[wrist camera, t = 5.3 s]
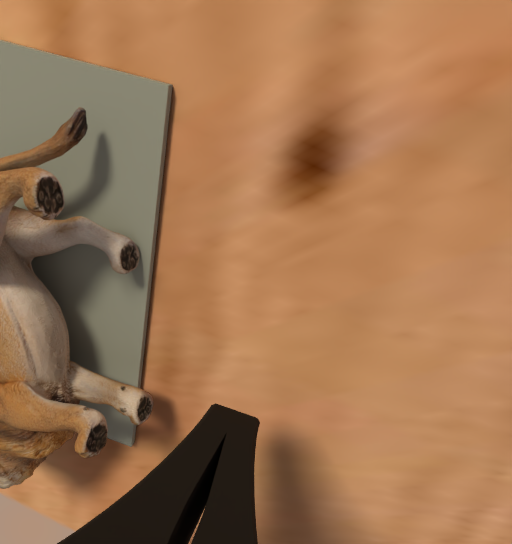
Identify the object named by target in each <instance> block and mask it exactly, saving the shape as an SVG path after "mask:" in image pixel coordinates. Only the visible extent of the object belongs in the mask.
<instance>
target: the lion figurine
mask: <svg viewBox="0 0 512 544" xmlns="http://www.w3.org/2000/svg"><path fill="white" fill-rule="evenodd" d="M87 129H88V125H87V118H86V110H85V109H84V108H82V107H79V108H77V109H76V111H75V112H74V114H73V115H72V117H71V118H70V119H69V120H68V121H67V122H65V123H64V124H63V125H61V126H60V128H59V129H58V131H57V132H56V134H55V135H54V136H53V137H52V138H50V139H48V140H47V141H45V142H43V143H42V144H40V145H38V146H37V147H35V148H33V149H30V150H28V151H24V152H21V153H18V154H14V155H10V156H6V157H2V158H0V488H2V489H6V488H9V487H11V486H13V485H18V484H21V483H22V482H23V481H24V480H25V479H27V478H29V477H30V476H32V475H33V472H34V470H35V469H36V468H37V467H38V466H39V464H40V463H42V462H43V461H44V460H45V459H46V457H47V456H48V455H49V454H51V453H52V452H53V451H54V450H56V449H59V448H60V447H61V446H62V445H63V444H64V443H65V441H67V440H69V439H71V438H72V437H73V435H74V432H76V433H77V434H78V437H77V440H76V442H75V451H76V452H77V453H78V454H80V456H81V457H83V458H88V457H91V456H96V455H98V454H99V453H100V451H101V449H102V448H103V447H104V446H105V444H106V440H107V432H108V428H107V422H106V419H105V417H104V415H103V414H102V413H100V412H99V411H97V410H95V409H91V408H87V407H86V406H82V405H78V404H79V403H80V401H86V402H89V403H97V404H107V405H110V406H112V407H114V408H115V409H116V410H117V411H119V412H120V413H121V414H123V415H125V416H128V417H129V418H130V421H131V422H132V423H133V424H134V425H139V424H141V423H143V422H145V421H146V420H147V419H148V417H149V415H150V413H151V411H152V407H153V398H152V396H151V394H149V393H148V392H146V391H144V390H142V389H140V388H137V387H134V386H131V385H128V384H124V383H121V382H118V381H115V380H112V379H109V378H107V377H104V376H102V375H100V374H97V373H94V372H92V371H90V370H88V369H86V368H84V367H82V366H80V365H78V364H77V363H75V362H73V361H70V360H69V358H70V356H69V353H70V348H69V335H68V329H67V325H66V321H65V319H64V316H63V314H62V311H61V308H60V306H59V304H58V303H57V302H56V300H55V299H54V297H53V296H52V295H51V293H50V292H49V290H48V289H47V288H46V287H45V285H44V284H43V283H42V281H41V280H40V279H39V278H38V277H37V276H36V275H35V273H34V271H33V269H32V265H31V261H32V260H33V258H35V257H38V256H44V255H49V254H53V253H56V252H58V251H61V250H63V249H66V248H68V247H71V246H74V245H77V244H88V245H92V246H94V247H97V248H99V249H101V250H103V251H104V252H105V253H106V254H107V256H108V257H109V261H110V264H111V267H112V269H113V270H114V271H115V272H117V273H120V274H127V273H129V272H130V271H132V270H134V269H135V268H136V267H137V265H138V262H139V257H140V254H139V250H138V248H137V246H136V244H135V243H134V242H133V241H132V240H131V239H130V238H128V237H126V236H124V235H122V234H119V233H116V232H113V231H110V230H108V229H106V228H104V227H102V226H100V225H98V224H96V223H95V222H93V221H91V220H90V219H88V218H85V217H82V216H77V217H72V218H69V219H65V220H55V219H54V218H56V217H57V216H58V215H59V213H60V212H61V211H62V209H63V208H64V204H65V201H64V193H63V189H62V187H61V184H60V182H59V180H58V179H57V178H56V177H55V176H54V175H53V174H52V173H50V172H48V171H46V170H44V169H41V168H38V167H36V166H39V165H41V164H43V163H45V162H48V161H50V160H53V159H55V158H57V157H60V156H62V155H63V154H65V153H66V152H67V151H69V150H70V149H71V148H72V147H74V146H75V145H77V144H78V143H79V142H80V141H81V139H82V138H83V137H84V136H85V135H86V132H87ZM21 197H23V201H24V204H25V206H26V207H27V209H28V210H29V211H28V210H25V209H22V208H19V207H16V206H14V204H15V203H16V202H17V201H18V200H19V199H20V198H21Z"/></svg>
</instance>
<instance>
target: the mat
mask: <svg viewBox="0 0 512 544" xmlns="http://www.w3.org/2000/svg"><path fill="white" fill-rule="evenodd" d="M172 86H173V85H171V84H167V83H164V82H160V81H156V80H152V79H148V78H144V77H141V76H137V75H133V74H129V73H125V72H122V71H118V70H114V69H110V68H106V67H102V66H99V65H95V64H91V63H87V62H83V61H80V60H76V59H72V58H68V57H64V56H60V55H57V54H53V53H49V52H45V51H41V50H37V49H34V48H30V47H26V46H22V45H18V44H15V43H11V42H7V41H3V40H0V158H2V157H6V156H10V155H14V154H18V153H21V152H24V151H28V150H30V149H33V148H35V147H37V146H38V145H40V144H42V143H43V142H45V141H47V140H48V139H50V138H52V137H53V136H54V135H55V134H56V132H57V131H58V129H59V128H60V126H61V125H63V124H64V123H65V122H67V121H68V120H69V119H70V118H71V117H72V115H73V114H74V112H75V111H76V109H77V108H79V107H82V108H84V109H85V110H86V118H87V125H88V129H87V132H86V135H85V136H84V137H83V138H82V139H81V141H80V142H79V143H78V144H77V145H75V146H74V147H72V148H71V149H70V150H69V151H67V152H66V153H65V154H63V155H62V156H60V157H57V158H55V159H53V160H50V161H48V162H45V163H43V164H41V165H39V166H36V167H38V168H41V169H44V170H46V171H48V172H50V173H52V174H53V175H54V176H55V177H56V178H57V179H58V180H59V182H60V184H61V187H62V189H63V193H64V201H65V204H64V208H63V209H62V211H61V212H60V213H59V215H58V216H57V217H56V218H54V219H55V220H65V219H69V218H72V217H77V216H82V217H85V218H88V219H90V220H91V221H93V222H95V223H96V224H98V225H100V226H102V227H104V228H106V229H108V230H110V231H113V232H116V233H119V234H122V235H124V236H126V237H128V238H130V239H131V240H132V241H133V242H134V243H135V244H136V246H137V248H138V250H139V254H140V257H139V262H138V265H137V267H136V268H135V269H134V270H132V271H130V272H129V273H127V274H120V273H117V272H115V271H114V270H113V269H112V267H111V264H110V261H109V257H108V256H107V254H106V253H105V252H104V251H103V250H101V249H99V248H97V247H94V246H92V245H88V244H77V245H74V246H71V247H68V248H66V249H63V250H61V251H58V252H56V253H53V254H49V255H44V256H38V257H35V258H33V260H32V261H31V265H32V269H33V271H34V273H35V275H36V276H37V277H38V278H39V279H40V280H41V281H42V283H43V284H44V285H45V287H46V288H47V289H48V290H49V292H50V293H51V295H52V296H53V297H54V299H55V300H56V302H57V303H58V304H59V306H60V308H61V311H62V314H63V316H64V319H65V321H66V325H67V329H68V335H69V348H70V353H69V356H70V358H69V360H70V361H73V362H75V363H77V364H78V365H80V366H82V367H84V368H86V369H88V370H90V371H92V372H94V373H97V374H100V375H102V376H104V377H107V378H109V379H112V380H115V381H118V382H121V383H124V384H128V385H131V386H134V387H137V388H140V386H141V377H142V367H143V358H144V348H145V339H146V330H147V320H148V311H149V302H150V292H151V283H152V273H153V264H154V255H155V245H156V236H157V227H158V217H159V208H160V199H161V189H162V180H163V170H164V161H165V152H166V142H167V133H168V124H169V114H170V105H171V96H172ZM14 206H16V207H19V208H22V209H25V210H28V209H27V207H26V206H25V204H24V201H23V197H21V198H20V199H19V200H18V201H17V202H16V203H15V204H14ZM28 211H29V210H28ZM78 405H82V406H86V407H87V408H91V409H95V410H97V411H99V412H100V413H102V414H103V415H104V417H105V419H106V422H107V428H108V432H107V438H109V439H111V440H114V441H117V442H120V443H122V444H125V445H128V446H130V447H132V445H133V444H134V442H135V433H136V425H134V424H133V423H132V422H131V421H130V418H129V417H128V416H125V415H123V414H121V413H120V412H119V411H117V410H116V409H115V408H114V407H112V406H110V405H107V404H97V403H89V402H86V401H80V403H79V404H78Z"/></svg>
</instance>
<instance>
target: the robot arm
mask: <svg viewBox="0 0 512 544" xmlns="http://www.w3.org/2000/svg"><path fill="white" fill-rule="evenodd" d="M259 424H260V422H259V420H258V419H257V418H256V417H253V416H250V415H247V414H244V413H241V412H238V411H236V410H233V409H230V408H227V407H224V406H221V405H218V404H214V405H211V407H210V408H209V410H208V411H207V413H206V414H205V415H204V416H203V418H202V419H201V420H200V422H199V423H198V424H197V425H196V426H195V427H194V429H193V430H192V431H191V432H190V433H189V434H188V435H187V437H186V438H185V439H184V440H183V441H182V442H181V443H180V444H179V445H178V446H177V447H176V448H175V449H174V450H173V451H172V452H171V453H170V454H169V455H168V456H167V457H166V458H165V459H164V460H163V461H162V462H161V463H160V464H159V465H158V466H157V467H156V468H155V469H153V470H152V471H151V472H150V473H149V474H148V475H147V476H146V477H145V478H144V479H143V480H142V481H140V482H139V483H138V484H137V485H136V486H135V487H133V488H132V489H131V490H130V491H129V492H127V493H126V494H125V495H124V496H123V497H121V498H120V499H119V500H118V501H116V502H115V503H114V504H112V505H111V506H110V507H109V508H107V509H106V510H105V511H103V512H102V513H101V514H99V515H98V516H97V517H95V518H94V519H92V520H91V521H90V522H88V523H87V524H86V525H84V526H83V527H81V528H80V529H79V530H77V531H76V532H74V533H73V534H71V535H70V536H68V537H67V538H65V539H64V540H62V541H61V542H59V543H57V544H188V543H189V540H190V538H191V536H192V534H193V532H194V530H195V528H196V525H197V523H198V521H199V519H200V517H201V515H202V513H203V511H204V513H203V516H202V518H201V521H200V523H199V526H198V528H197V531H196V533H195V536H194V538H193V541H192V543H191V544H258V542H257V531H256V518H255V499H254V461H255V447H256V438H257V432H258V427H259ZM205 506H206V507H205ZM204 508H205V510H204Z"/></svg>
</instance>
